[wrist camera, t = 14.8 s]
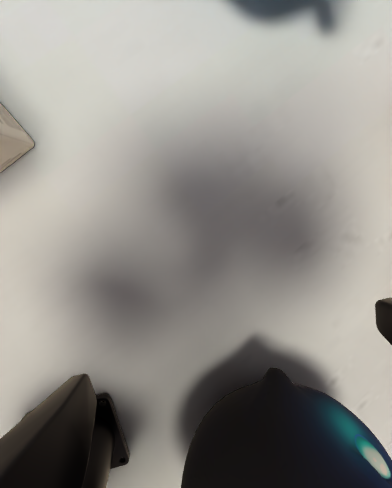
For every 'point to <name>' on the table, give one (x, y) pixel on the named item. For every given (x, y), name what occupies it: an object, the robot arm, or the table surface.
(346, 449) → the figurine
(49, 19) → the table surface
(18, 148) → the ink box
